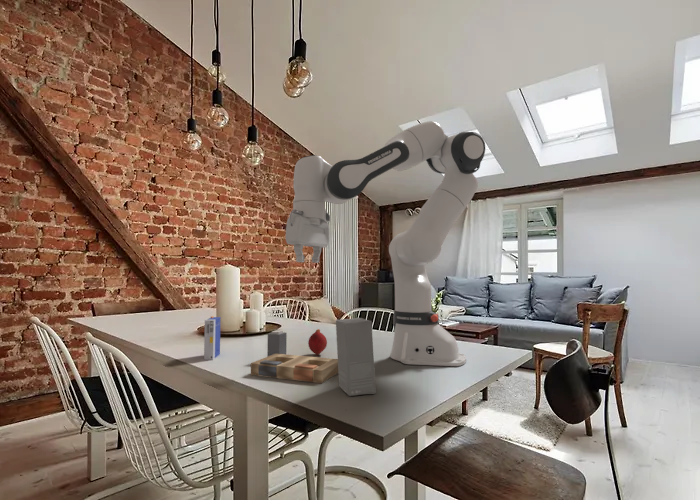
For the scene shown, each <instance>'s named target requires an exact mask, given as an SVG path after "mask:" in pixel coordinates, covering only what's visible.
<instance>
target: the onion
mask: <svg viewBox="0 0 700 500" xmlns="http://www.w3.org/2000/svg"><path fill="white" fill-rule="evenodd" d="M307 342H308V343H307V344H308V348H309V350H310V351H311V352H312V353H314V354H315V355H319V356H320V354H321V353H322V352H324V351H325V349H326V348H327V345H328V340H327V337H326V336H325V335H324V333H322V332H321V330H320V329H319V328H317V329H316V330H315V332H313V333H312V334H311V335H310V336H309V338H308V341H307Z"/></svg>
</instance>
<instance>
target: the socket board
mask: <svg viewBox="0 0 700 500" xmlns="http://www.w3.org/2000/svg"><path fill="white" fill-rule="evenodd" d="M336 374H338V358H329V357H328V358H327V357H319V356H306V355H297V354H287V353H286V354H273V355H271V356H268V357H267V356H265V357H263V358H260V359H258V360H256V361H253V362H251V363H250V376H255V375H256V376H255V377H263V376H264V377H265V378H273V379H280V380H281V379H283V380H291V381H299V382H310V383H315V384H324V383H325V382H326V381H328V380H329V379H331V378H332V377H334V376H335V375H336Z"/></svg>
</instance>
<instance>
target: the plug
mask: <svg viewBox="0 0 700 500" xmlns="http://www.w3.org/2000/svg"><path fill="white" fill-rule="evenodd" d="M287 336H288V335H287V332H284V331H283V330H278V329H277V330H273V331H271V332H269V333H267V354H266V355H267V356H266V357H268V356H271V355H273V354H287Z"/></svg>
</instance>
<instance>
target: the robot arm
mask: <svg viewBox="0 0 700 500" xmlns="http://www.w3.org/2000/svg"><path fill="white" fill-rule="evenodd" d="M485 153H486V143H485V140H484V138H483V137H482V135H481V134H480V133H478V132H475V131H469V130H467V131H461V132H459V133H456V134H453V135H450V136H448V135H446V134H445V131H444V129H443V127H442V126H441V125H440V124H439V123H437V122H436V121H433V120H428V121H424V122H421V123H418V124H415V125H413V126H410V127H408V128H406V129H404V130H402V131H400V132H398V133H397V134H395V135H394V136H393V137H391V138H390V139H388V140H387V142H385V144H384V146H383V147H381V148H379V149H377V150H375V151H373V152H371V153H369V154H368V155H365V156H363V157H360V158H358V159H345V160H340V161H338V162H336V163H334V164H333V165H332V164H330V163H328V162H327V161H326V160H325V159H324V158H323V157H322V156H320V155H315V154H314V155H313V154H312V155H307V156H304V157H301V158H299V159H298V160H297V161H296V163H295V166H294V171H293V185H292V187H293V192H294V196H293V197H294V198H293V203H292V208H293V209H292V210H291V211H290V213H289V217H288V218H287V221H286V228H285V242H286V244H287V245H292V246H293V251H294V253H295V258H296V259H295V261H296V262H297V263H304V262H305V258H306V257H305V255H304V253H303V249H304V247H310V248H312V250H313V254H312V256H311V262H312V263H315V264H316V263H320V257H321V253H322V248H328V245H329V242H330V241H329V240H330V224H329V223H331V220H332V219H331V215H330V214H329V213H328V211H327V209H326V207H325V202H326V203H330V204H333V205H342V204H346V203H347V202H349V201H351V200H352V199H354V198H356V197H358V196H359V195H360V194H361V193H362V192H363V191H364V189H365V188H366V186H367V185H368V183H369V182H370V181H372V180H374V179H375V178H377V177H380V176H381V175H384V174H385V173H386V172H387V173H388V171H391V170H392V169H393V170H395V171H397V172H403V171H406V170H409V169H412V168H413V167H416V166H418V165H420V164H421V163H423V162H425V161H426V163H427V164H428V166H429V167H428V168H430V169H431V170H432V171H433V172H435V173H437V174H444V176H443V179H442V181H441V183H440V184H439V185H438V186H437V188H436V189H435V190H434V191H433V193H432V194H431V195H430V197H429V198H428V199H427V200H426V202H425V203H424V204H423V205H422V206H421V208H420V210H419V213H418V215H417V216H416V219H415V220H414V222H413V224H412V225H411V226H410V228H409V229H407V230H406V231H403V232H399V233H398V234H396V235H395V236H394V237H393V239H392V240H391V241H390V243H389V245H388V253H389V256H390V258H391V259H390V261H391V269H392V275H393V280H394V281H393V282H394V310H393V317H392V319H393V321H392V322H393V329H394V331H393V332H394V333H393V342H392V346H391V347H392V348H391V351H390V355H389V358H391V359H392V360H394V361H398V362H401V363H402V364H404V365H416V366H417V365H418V366H441V367H460V366H463V365H464V364H465V363H466V362H467V357H466V355H465V354H463V353H461V352H459V347H458V342H457V339H456V337H455V336H453V335H452V334H451V333H450V332H449V331H448V330H446V329H445V328H443V326H441V325H440V324H439V319H440V318H439V313H436V312H434V311H432V283H431V282H430V280H429V276H428V272H427V268H426V265H428V264H430V263H432V262H433V261H435V260H436V259H437V258H438V257H439V255H440V253H441V251H442V245H443V244H444V242H445V240H446V237H447V236H448V234H449V232H450V230H451V229H452V227H453V226H454V225H455V223H456V222H457V220H458V219H459V218H460V217H461V215H462V214H463V212H465V210H466V209H467V207H468V205H469V204H470V203H471V201H472V200H473V197H474V195H475V193H476V192H477V188H478V183H479V182H478V179H477V177H476V175H474V173H476V172H477V171H479V169H480V167H481V163H482V161H483V159H484V157H485Z"/></svg>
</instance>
